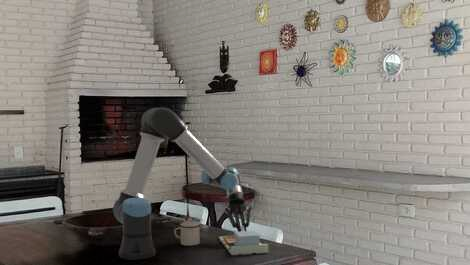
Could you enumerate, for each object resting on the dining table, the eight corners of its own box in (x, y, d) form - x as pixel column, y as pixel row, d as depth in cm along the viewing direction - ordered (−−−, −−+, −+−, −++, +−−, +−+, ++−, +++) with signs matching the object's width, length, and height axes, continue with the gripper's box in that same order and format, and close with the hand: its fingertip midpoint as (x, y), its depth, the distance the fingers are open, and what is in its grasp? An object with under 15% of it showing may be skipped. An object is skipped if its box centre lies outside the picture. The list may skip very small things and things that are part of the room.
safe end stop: (231, 254, 213) (231, 246, 213) (267, 251, 216) (267, 243, 216) (231, 255, 212) (231, 246, 212) (268, 252, 215) (268, 244, 215)
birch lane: (218, 238, 240) (218, 236, 240) (251, 236, 244) (251, 234, 244) (231, 254, 213) (231, 251, 213) (267, 251, 216) (267, 249, 216)
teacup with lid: (201, 241, 236) (201, 216, 236) (197, 246, 227) (197, 220, 227) (176, 240, 238) (176, 216, 237) (171, 245, 229) (171, 220, 228)
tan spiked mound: (170, 228, 267) (170, 203, 267) (178, 224, 277) (177, 200, 276) (197, 229, 263) (196, 204, 262) (203, 225, 272) (203, 201, 272)
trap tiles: (224, 239, 239) (224, 238, 239) (247, 237, 242) (247, 237, 242) (227, 243, 232) (227, 242, 232) (251, 241, 234) (251, 241, 234)
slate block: (234, 248, 223) (234, 231, 222) (254, 247, 225) (254, 230, 224) (239, 254, 214) (239, 236, 214) (259, 252, 216) (259, 235, 216)
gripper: (247, 201, 245) (256, 243, 229) (221, 202, 242) (228, 245, 226) (250, 191, 239) (259, 234, 224) (223, 192, 236) (230, 236, 221)
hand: (244, 239), depth 225 cm, fingers closed
